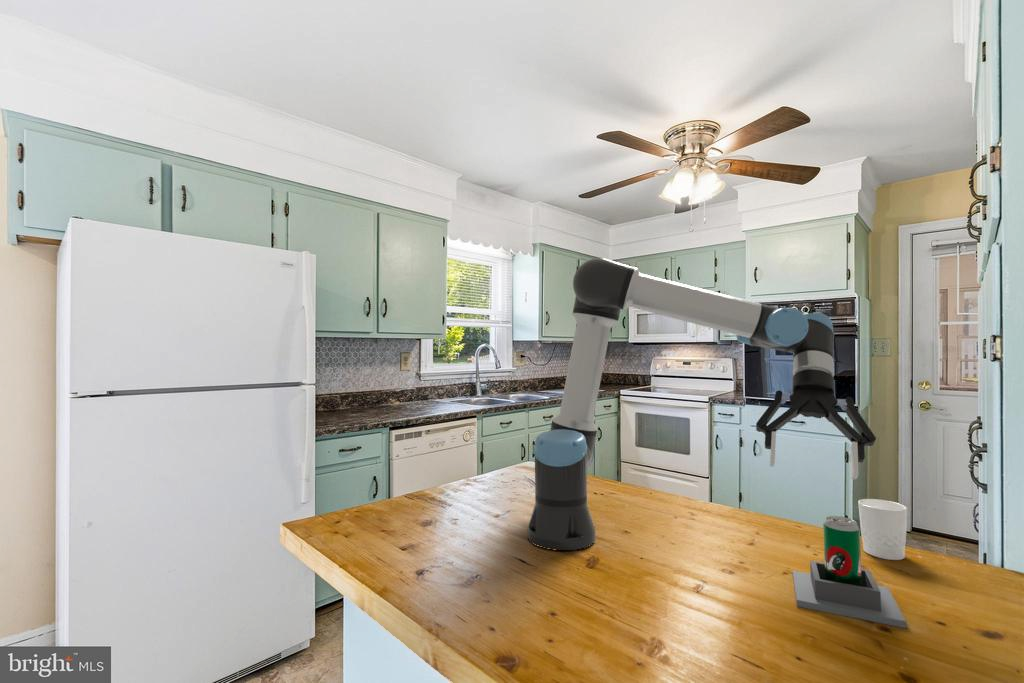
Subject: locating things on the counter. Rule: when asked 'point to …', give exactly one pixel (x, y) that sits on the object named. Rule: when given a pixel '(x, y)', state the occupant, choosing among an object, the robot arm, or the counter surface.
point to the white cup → (883, 528)
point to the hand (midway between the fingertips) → (812, 470)
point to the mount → (847, 597)
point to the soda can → (842, 550)
